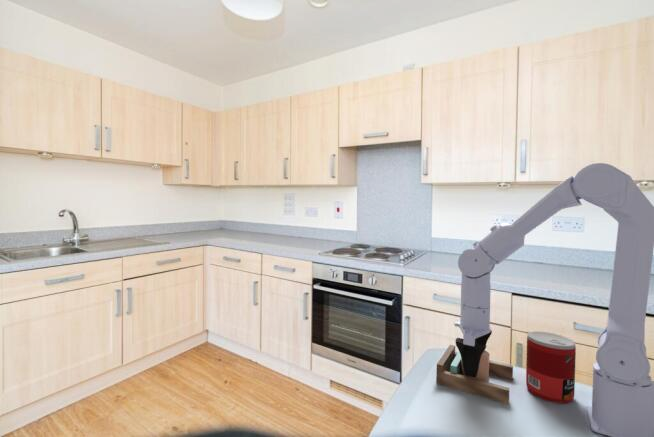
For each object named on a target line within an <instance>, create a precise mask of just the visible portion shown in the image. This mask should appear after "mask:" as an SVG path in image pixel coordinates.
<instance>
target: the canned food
mask: <svg viewBox="0 0 654 437" xmlns="http://www.w3.org/2000/svg"><path fill="white" fill-rule="evenodd" d="M576 348H577V347H576V342H575V341H574V340H572V339H570V338H569V337H567V336H564V335H561V334H556V333H551V332H546V331H530V332H528V333H527V337H526V364H525V365H526V366H525V368H526V369H525V370H526V372H525V373H526V374H525V375H526V376H525V383H526V387H527V389H528V391H529V392H530V393H532V395H534V396H536V397H538V398H540V399H542V400H545V401H547V402H551V403H556V404H570V403H571V402H573V401H574V398H575V387H576V386H575V382H576V381H575V380H576V357H577V356H576V350H577V349H576Z"/></svg>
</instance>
